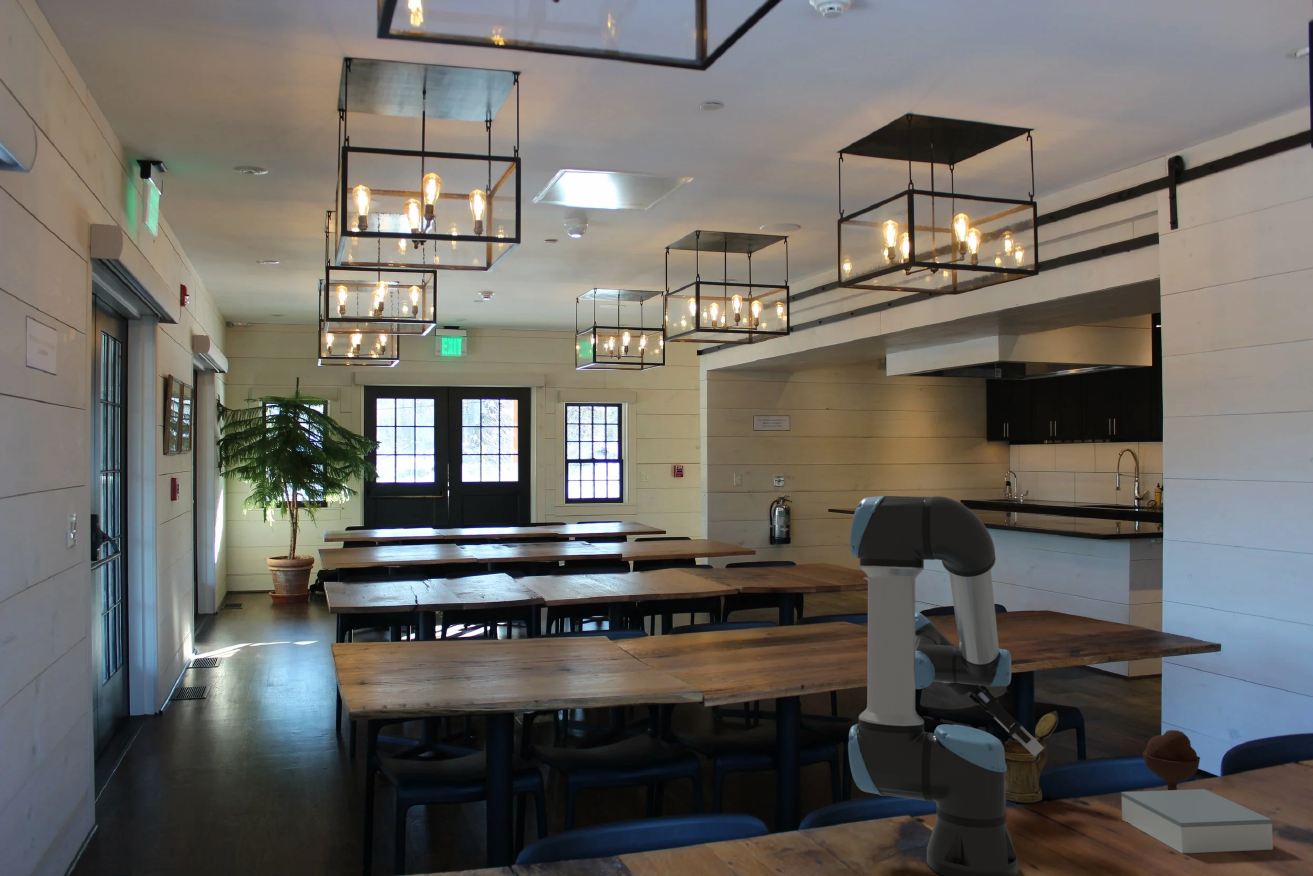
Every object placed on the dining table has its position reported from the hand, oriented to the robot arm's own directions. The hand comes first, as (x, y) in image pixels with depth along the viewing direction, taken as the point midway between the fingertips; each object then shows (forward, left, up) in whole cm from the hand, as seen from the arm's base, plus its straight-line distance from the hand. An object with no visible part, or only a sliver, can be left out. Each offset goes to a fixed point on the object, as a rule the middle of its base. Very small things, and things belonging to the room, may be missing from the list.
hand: (1029, 743), depth 204 cm
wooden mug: (0, 0, -11) cm, 11 cm away
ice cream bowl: (+29, -6, -11) cm, 32 cm away
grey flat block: (+20, -25, -11) cm, 34 cm away
